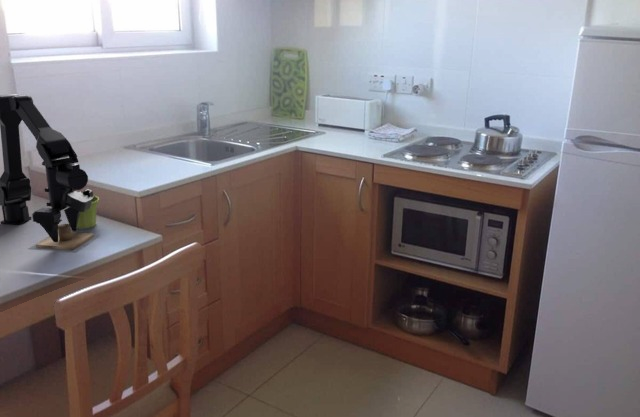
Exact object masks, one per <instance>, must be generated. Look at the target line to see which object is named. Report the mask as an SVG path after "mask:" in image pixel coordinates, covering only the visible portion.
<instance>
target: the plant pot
mask: <svg viewBox="0 0 640 417" xmlns="http://www.w3.org/2000/svg"><path fill="white" fill-rule="evenodd" d="M93 196H94V198H93V199H94V201H93V202H92V203H91V206H90V209H87V210H86V211H85V212H80V215H79V219H78V224H77V228H76V229H83V230H84V229H90V228H92V227H95V226H96V224H97V213H98V212H97V210H98V204H99V201H100V197H99V196H97V195H93Z"/></svg>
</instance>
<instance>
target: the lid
mask: <svg viewBox="0 0 640 417" xmlns="http://www.w3.org/2000/svg"><path fill="white" fill-rule="evenodd" d="M47 237H48V238H47ZM47 237H45V238H46V239H45V238H44V239H42V240H43V241H42V240H40V241H41V242H40V241H39V242H37V243H38V244H37V243H36V247H40V248H52V249H65V250H74V249H76V248H77V247H79V246H80V245H82V244H83V243H85V242H86V241H88V240H89V239H91V238H92V237H94V233H89V232H88V233H87V232H78V231H77V232H76V231H72V229H71V227H70V224H69V223H62V224H61V223H60V224H58V242H54V241H53V240H52V239H51V237H50V236H49V235H48V236H47Z"/></svg>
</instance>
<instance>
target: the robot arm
mask: <svg viewBox="0 0 640 417" xmlns="http://www.w3.org/2000/svg"><path fill="white" fill-rule="evenodd" d="M22 121H23V123H24V124H25V126H26V127H27V128H28V130H29V131H30V133H31V134H32V135H33V137H34V138H35V140H36V143H35V144H36V145H35V148H36V150H37V153H38V155H39V156H40V157H41V160H42V162H41V166H44V168H45V175H46V182H47V187H45V188H44V192H45V193H48V198H49V201H47V202H46V207H41V208H39V209H37V210H35V211H33V213H32V214H31V216H30V212H29V207H28V205H27V202H30V201H31V199H32V186H31V179H30V178H29V177H27V176H26V175H25V173H24V172H23V164H22V163H23V162H22V149H21V136H20V124H21V123H22ZM0 138H1V139H0V140H1V149H2V150H1V151H2V162H3V172H2V174H1V176H0V206H1V211H2V217H3V220H1V221H0V224H5V225H8V224H9V225H21V224H24V223H25V222H27V221H29V220H32V222H34V223H36V224H39V225H40V226H41V227H42V228H43V230H44V231H45V232H46V233H47V235H48V237H49V236H50V237H51V239H52V240H53V241H54V242H58V225H60V224H61V222H62V220H63V219H61V218H62V213H61V212H63V211H64V214H65V217H66V219H67V222H68V224H70V228H71V232H76V231H77V229H78V228H77V224H78V219H79V215H80V212H85V211H86V210H87V209H90V206H91V203H92V202H93V201H94V199H93V198H94V196H95V195H94V192H93V190H91V189H89V188H87V189H86V190H84V191H81V190H82V189H84V188H85V187H86V186H87V184H88V183H89V182H88V181H89V175H88V174H87V172H86V171H85V170H84V169H82V168H81V166H80V164H79V159H78V155H77V153H76V151H75V150H74V148H73V146H72V145H71V143H70V141H69V140H68V139H67V137H66V136H64V134H63V133H61V132H60V131H57V130H55V129H53V128H52V127H51V125H50V124H49V123H48V121H47V120H46V119H45V117H44V116H43V115H42V113H41V112H40V110H39V108H37V106H36V105H35V104H34V100H33V98H32V96H31V95H27V94H25V95H24V94H23V95H22V94H21V95H19V94H18V93H12V94H1V95H0Z"/></svg>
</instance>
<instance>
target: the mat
mask: <svg viewBox="0 0 640 417" xmlns="http://www.w3.org/2000/svg"><path fill="white" fill-rule="evenodd" d="M93 234H94V233H93ZM100 236H102V234H94V237H92V238H91V239H89V240H88V241H86V242H85V243H83V244H82V245H80V246H79V247H77V248H76V249H74V250H65V249H52V248H40V247H36V244H38V243H39V242H41V241H43V240H44V239H46V238H48V237H49V236H46V237H45V238H44V239H42V240H40V241H39V242H37V243H36V244H34V245H32V246H30V247H28V248H27V249H28V250H35V251H36V250H37V251H51V252H58V253H59V252H61V253H74V254H75V253H76V254H77V252H79V251H80V250H82V249H83V248H85V247H86V246H88V245H89V244H90V243H92V242H93V241H95V240H96V239H98V238H99V237H100Z"/></svg>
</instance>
